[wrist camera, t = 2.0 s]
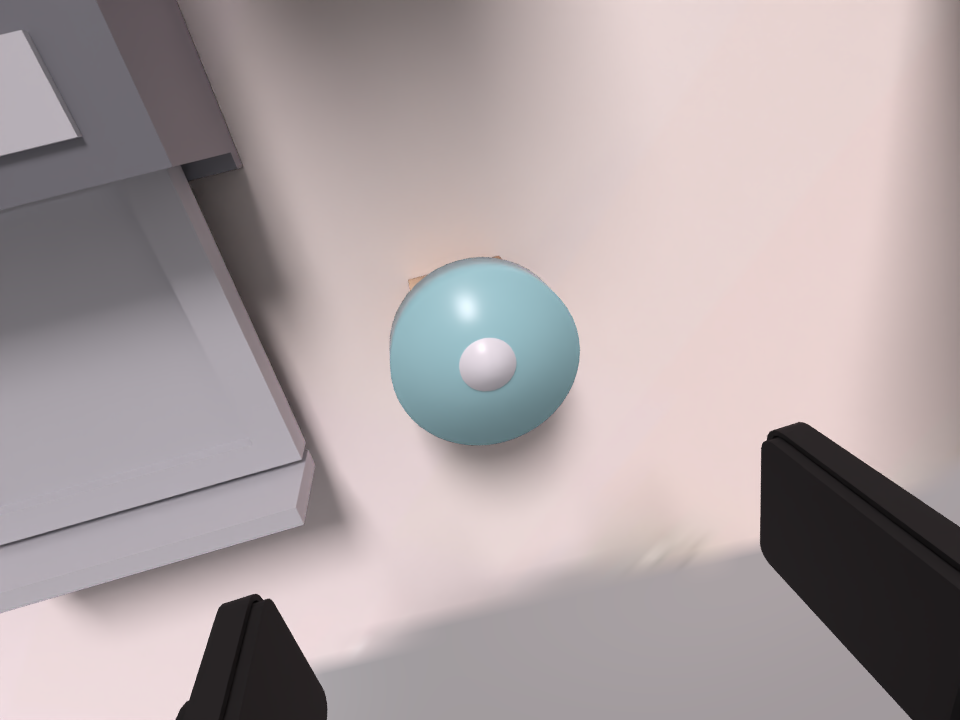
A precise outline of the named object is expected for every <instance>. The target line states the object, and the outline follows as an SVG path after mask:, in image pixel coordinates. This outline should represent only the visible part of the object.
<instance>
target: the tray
mask: <svg viewBox="0 0 960 720" xmlns="http://www.w3.org/2000/svg"><path fill="white" fill-rule="evenodd" d="M305 443H306V441H305V439H304V437H303V435H302V432H301V430H300V428H299V426H298V424H297V421H296V419H295V417H294V415H293V413H292V410H291V408H290V406H289V404H288V402H287V399H286V397H285V395H284V393H283V391H282V388H281V386H280V384H279V382H278V380H277V377H276V375H275V373H274V371H273V368H272V366H271V364H270V362H269V360H268V357H267V355H266V353H265V351H264V349H263V346H262V344H261V342H260V340H259V338H258V335H257V333H256V331H255V329H254V327H253V324H252V322H251V320H250V318H249V316H248V313H247V311H246V309H245V307H244V305H243V302H242V300H241V298H240V296H239V294H238V291H237V289H236V287H235V285H234V282H233V280H232V278H231V276H230V274H229V271H228V269H227V267H226V265H225V263H224V260H223V258H222V256H221V254H220V252H219V249H218V247H217V245H216V243H215V241H214V238H213V236H212V234H211V232H210V230H209V227H208V225H207V223H206V221H205V219H204V216H203V214H202V212H201V210H200V207H199V205H198V203H197V201H196V199H195V196H194V194H193V192H192V190H191V188H190V185H189V183H188V181H187V179H186V177H185V174H184V172H183V170H182V168H181V166H180V165H178V166H174V167H170V168H166V169H162V170H158V171H154V172H150V173H146V174H142V175H138V176H134V177H130V178H126V179H122V180H118V181H114V182H110V183H106V184H102V185H98V186H94V187H90V188H86V189H82V190H78V191H74V192H70V193H66V194H62V195H58V196H54V197H50V198H46V199H42V200H38V201H34V202H30V203H26V204H22V205H18V206H14V207H10V208H6V209H2V210H0V613H3V612H6V611H10V610H13V609H17V608H20V607H24V606H27V605H30V604H34V603H37V602H41V601H44V600H48V599H51V598H54V597H58V596H61V595H65V594H68V593H72V592H75V591H78V590H82V589H85V588H89V587H92V586H96V585H99V584H102V583H106V582H109V581H113V580H116V579H120V578H123V577H126V576H130V575H133V574H137V573H140V572H144V571H147V570H150V569H154V568H157V567H161V566H164V565H168V564H171V563H174V562H178V561H181V560H185V559H188V558H192V557H195V556H198V555H202V554H205V553H209V552H212V551H216V550H219V549H222V548H226V547H229V546H233V545H236V544H240V543H243V542H246V541H250V540H253V539H257V538H260V537H264V536H267V535H270V534H274V533H277V532H281V531H284V530H288V529H291V528H295V527H298V526H301V525H304V523H305V518H306V512H307V507H308V502H309V496H310V491H311V485H312V480H313V475H314V469H315V463H314V461H313V459H312V457H311V454H310V452H309V450H304V448H305Z"/></svg>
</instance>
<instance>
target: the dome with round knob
mask: <svg viewBox="0 0 960 720" xmlns="http://www.w3.org/2000/svg"><path fill="white" fill-rule="evenodd" d="M579 355H580V346H579V337H578V333H577V328H576V326H575V323H574V320H573V318H572V316H571V314H570V312H569V311H568V309H567V307H566V306H565V305H564V303H563V302H562V301H561V300H560V298H559V297H558V296H557V295H556V294H555V293H554V292H553V291H552V290H551V289H550V288H549V287H548V286H547V285H546V284H545V283H544V282H543V281H542V280H541V279H540V278H539V277H538V276H537V275H535V274H534V273H532V272H531V271H530V270H528V269H526V268H524V267H522V266H520V265H518V264H516V263H513V262H510V261H507V260H503V259H498V258H489V257H477V258H468V259H463V260H458V261H455V262H452V263H449V264H446V265H444V266H442V267H440V268H438V269H436V270H434V271H433V272H431V273H430V274H428V275H427V276H425V277H424V278H423V279H422V280H420V281H419V282H418V283H417V284H416V285H415V286H414V287H413V288H412V289H411V290H410V292H409V293H408V294H407V295H406V297H405V298H404V300H403V301H402V303H401V304H400V306H399V308H398V310H397V312H396V315H395V318H394V321H393V324H392V328H391V333H390V369H391V379H392V383H393V387H394V391H395V393H396V395H397V398H398V400H399V402H400V403H401V405H402V407H403V408H404V410H405V411H406V412H407V414H408V415H409V416H410V417H411V419H413V420H414V421H415V422H416V423H417V424H418V425H419V426H420V427H422V428H423V429H425V430H426V431H428V432H429V433H431V434H433V435H435V436H437V437H439V438H441V439H444V440H447V441H450V442H454V443H458V444H465V445H490V444H497V443H501V442H505V441H508V440H511V439H514V438H517V437H519V436H521V435H523V434H526V433H528V432H529V431H531V430H533V429H534V428H536V427H537V426H539V425H540V424H541V423H543V422H544V421H545V420H547V419H548V418H549V417H550V416H551V415H552V414H553V413H554V412H555V411H556V410H557V408H558V407H559V406H560V405H561V403H562V402H563V401H564V399H565V397H566V396H567V394H568V393H569V391H570V389H571V387H572V384H573V382H574V379H575V376H576V373H577V369H578V364H579Z"/></svg>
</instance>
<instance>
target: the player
mask: <svg viewBox="0 0 960 720" xmlns="http://www.w3.org/2000/svg"><path fill="white" fill-rule="evenodd" d="M178 165H180V166H181V168H182V170H183V172H184V174H185V177H186V179H187V181H190V180H194V179H198V178H202V177H206V176H210V175H214V174H218V173H222V172H226V171H230V170H234V169H238V168H241V167H243V165H242V163H241V160H240V158H239V155H238V153H237V150H236V148H235V145H234V143H233V140H232V138H231V135H230V133H229V130H228V128H227V125H226V123H225V120H224V118H223V115H222V113H221V110H220V108H219V105H218V103H217V100H216V98H215V96H214V93H213V91H212V88H211V86H210V83H209V81H208V78H207V76H206V73H205V71H204V68H203V66H202V63H201V61H200V58H199V56H198V53H197V51H196V48H195V46H194V43H193V41H192V38H191V36H190V33H189V31H188V28H187V26H186V24H185V21H184V19H183V16H182V14H181V11H180V9H179V6H178V4H177V1H176V0H0V210H2V209H6V208H10V207H14V206H18V205H22V204H26V203H30V202H34V201H38V200H42V199H46V198H50V197H54V196H58V195H62V194H66V193H70V192H74V191H78V190H82V189H86V188H90V187H94V186H98V185H102V184H106V183H110V182H114V181H118V180H122V179H126V178H130V177H134V176H138V175H142V174H146V173H150V172H154V171H158V170H162V169H166V168H170V167H174V166H178Z"/></svg>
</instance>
